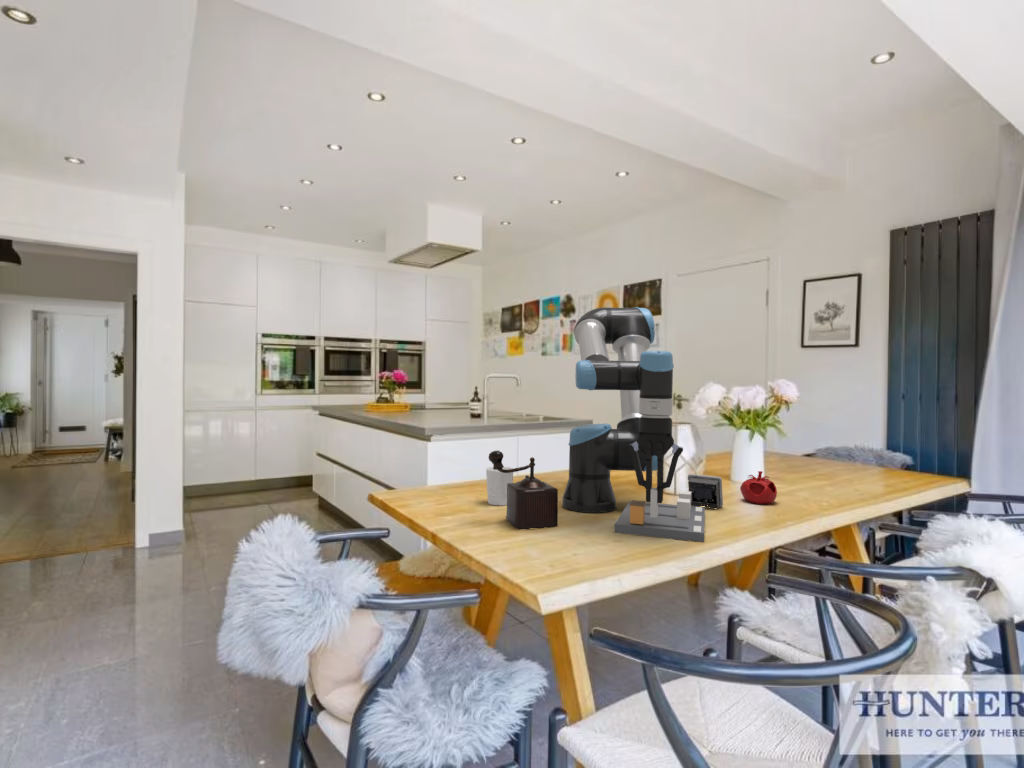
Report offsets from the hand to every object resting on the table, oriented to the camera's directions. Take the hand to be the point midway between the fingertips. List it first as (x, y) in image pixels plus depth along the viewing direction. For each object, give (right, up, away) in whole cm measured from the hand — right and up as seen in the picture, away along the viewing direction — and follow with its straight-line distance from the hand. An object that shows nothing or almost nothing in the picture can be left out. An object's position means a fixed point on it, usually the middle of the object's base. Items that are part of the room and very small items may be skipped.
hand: (654, 516), depth 127 cm
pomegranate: (+40, -4, +34) cm, 53 cm away
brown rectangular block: (-4, -2, +2) cm, 4 cm away
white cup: (-37, -4, +29) cm, 47 cm away
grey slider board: (+5, -4, +9) cm, 11 cm away
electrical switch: (+22, -4, +27) cm, 35 cm away
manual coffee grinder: (-31, -4, +7) cm, 32 cm away
